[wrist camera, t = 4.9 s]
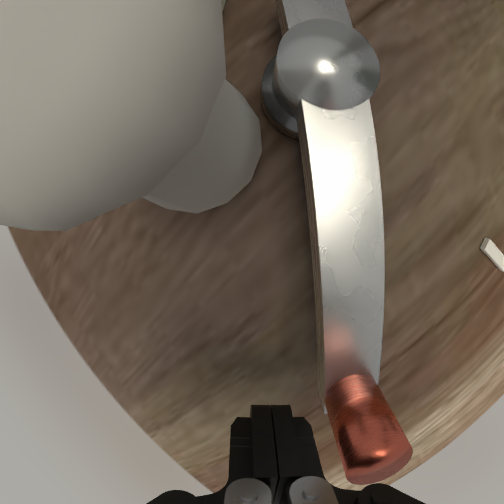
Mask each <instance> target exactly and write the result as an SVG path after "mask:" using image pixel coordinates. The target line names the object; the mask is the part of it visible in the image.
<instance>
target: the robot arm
mask: <svg viewBox="0 0 504 504" xmlns="http://www.w3.org/2000/svg"><path fill="white" fill-rule="evenodd" d="M147 504H425V503H423V502H421V501H418V500H417V499H415V498H412V497H410V496H408V495H406V494H404V493H402V492H400V491H399V490H397V489H395V488H393V487H391V486H389V485H386V484H381V483H376V484H371V485H368V486H366V487H365V488H364V489H362V491H355V490H345V489H340V488H337V487H335V486H333V485H331V484H330V483H329V482H328V481H327V480H326V479H325V477H324V475H323V471H322V467H321V463H320V459H319V455H318V451H317V447H316V445H315V440H314V438H313V432H312V428H311V425H310V424H309V423H308V422H307V421H306V419H305V418H304V417H293V416H292V411H291V407H290V405H271V406H270V405H251V409H250V418H249V417H237V418H236V419H235V421H234V422H233V424H232V425H231V436H230V458H229V478H228V482H227V484H226V485H225V486H224V487H223V488H222V489H221V490H220V491H218V492H216V493H213V494H209V495H204V496H198V497H195V496H194V495H193V494H191V493H188V492H186V491H182V490H172V491H167V492H165V493H163V494H161V495H160V496H158V497H156V498H155V499H153V500H152V501H150V502H149V503H147Z"/></svg>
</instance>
